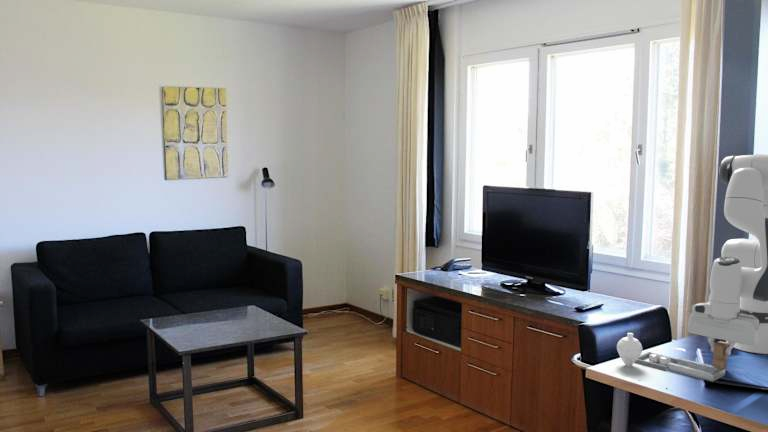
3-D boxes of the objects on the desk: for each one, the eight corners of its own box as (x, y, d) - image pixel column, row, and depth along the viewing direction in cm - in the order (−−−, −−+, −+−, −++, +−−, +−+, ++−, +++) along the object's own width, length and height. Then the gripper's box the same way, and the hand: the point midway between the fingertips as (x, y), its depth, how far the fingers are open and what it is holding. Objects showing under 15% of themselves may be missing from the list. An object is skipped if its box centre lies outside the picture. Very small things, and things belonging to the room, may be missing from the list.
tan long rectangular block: (717, 371, 215) (720, 341, 215) (725, 373, 214) (728, 342, 213) (711, 374, 212) (714, 343, 212) (719, 376, 211) (722, 345, 210)
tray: (648, 359, 228) (648, 352, 228) (681, 367, 220) (681, 360, 219) (632, 366, 221) (632, 358, 220) (665, 375, 212) (665, 366, 212)
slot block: (679, 368, 219) (680, 357, 219) (724, 379, 209) (725, 368, 208) (666, 374, 213) (667, 363, 213) (712, 386, 203) (713, 375, 202)
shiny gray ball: (652, 362, 223) (652, 353, 223) (661, 364, 221) (662, 355, 220) (646, 364, 221) (647, 355, 221) (656, 366, 219) (656, 357, 218)
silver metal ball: (660, 364, 221) (660, 355, 220) (671, 366, 219) (671, 357, 218) (657, 367, 218) (657, 358, 218) (668, 369, 216) (668, 360, 216)
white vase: (619, 364, 222) (621, 328, 221) (643, 369, 218) (645, 332, 217) (612, 370, 216) (614, 333, 214) (637, 375, 212) (640, 337, 210)
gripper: (763, 314, 206) (760, 359, 207) (695, 302, 221) (692, 344, 222) (755, 317, 201) (752, 363, 203) (686, 305, 216) (684, 347, 218)
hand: (720, 353), depth 213 cm, fingers closed on tan long rectangular block, 2 cm apart
